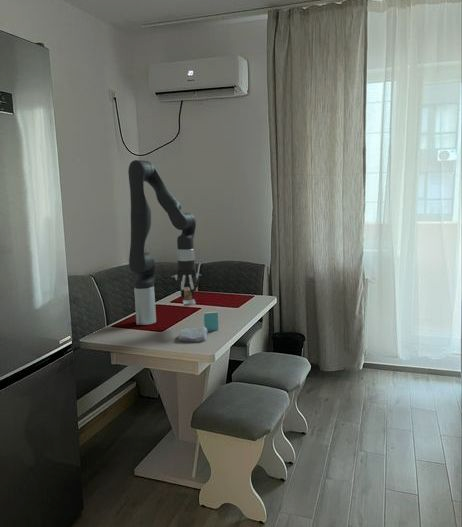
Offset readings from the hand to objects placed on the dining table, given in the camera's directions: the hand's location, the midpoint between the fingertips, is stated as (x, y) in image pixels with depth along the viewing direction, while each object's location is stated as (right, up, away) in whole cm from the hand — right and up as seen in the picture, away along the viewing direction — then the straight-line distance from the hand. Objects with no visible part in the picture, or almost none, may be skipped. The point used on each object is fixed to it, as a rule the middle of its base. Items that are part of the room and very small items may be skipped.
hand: (187, 297), depth 202 cm
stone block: (+4, -17, -13) cm, 22 cm away
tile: (+11, -14, -2) cm, 18 cm away
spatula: (0, -1, -1) cm, 2 cm away
